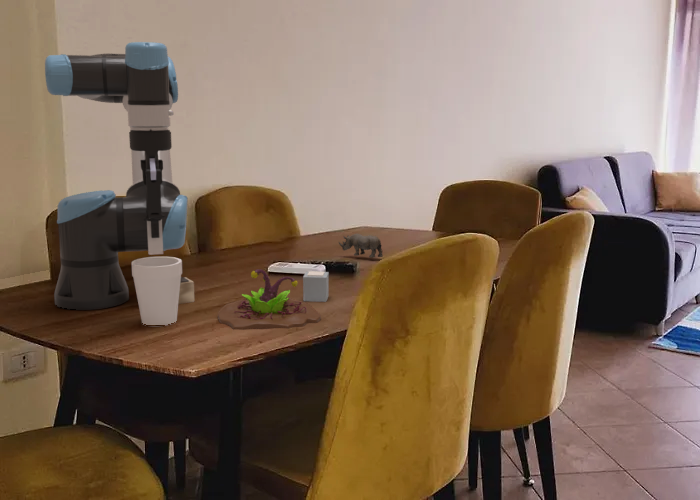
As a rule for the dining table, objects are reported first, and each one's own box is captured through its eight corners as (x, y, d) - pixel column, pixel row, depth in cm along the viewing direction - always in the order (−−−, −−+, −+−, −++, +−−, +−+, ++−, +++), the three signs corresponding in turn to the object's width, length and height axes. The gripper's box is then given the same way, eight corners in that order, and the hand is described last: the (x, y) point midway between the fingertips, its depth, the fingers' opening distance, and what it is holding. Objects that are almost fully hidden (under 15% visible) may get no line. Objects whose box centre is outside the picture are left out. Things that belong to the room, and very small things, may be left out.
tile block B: (303, 303, 165) (303, 275, 164) (306, 297, 170) (306, 270, 169) (326, 304, 165) (326, 276, 164) (328, 298, 170) (328, 270, 169)
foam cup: (162, 317, 155) (159, 254, 152) (194, 325, 150) (192, 260, 147) (124, 328, 147) (120, 262, 145) (156, 337, 142) (153, 269, 140)
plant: (209, 313, 159) (208, 261, 157) (299, 305, 166) (299, 254, 163) (228, 343, 141) (226, 284, 138) (329, 332, 147) (329, 276, 145)
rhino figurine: (342, 251, 220) (342, 230, 219) (384, 256, 214) (385, 235, 212) (335, 253, 217) (335, 232, 215) (378, 259, 210) (378, 237, 209)
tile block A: (172, 307, 162) (170, 283, 161) (164, 302, 166) (163, 278, 165) (194, 304, 165) (193, 280, 163) (186, 299, 169) (185, 275, 168)
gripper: (173, 130, 136) (178, 259, 141) (168, 127, 148) (173, 246, 153) (129, 130, 134) (136, 261, 139) (128, 127, 146) (134, 248, 151)
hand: (155, 253), depth 146 cm, fingers closed
